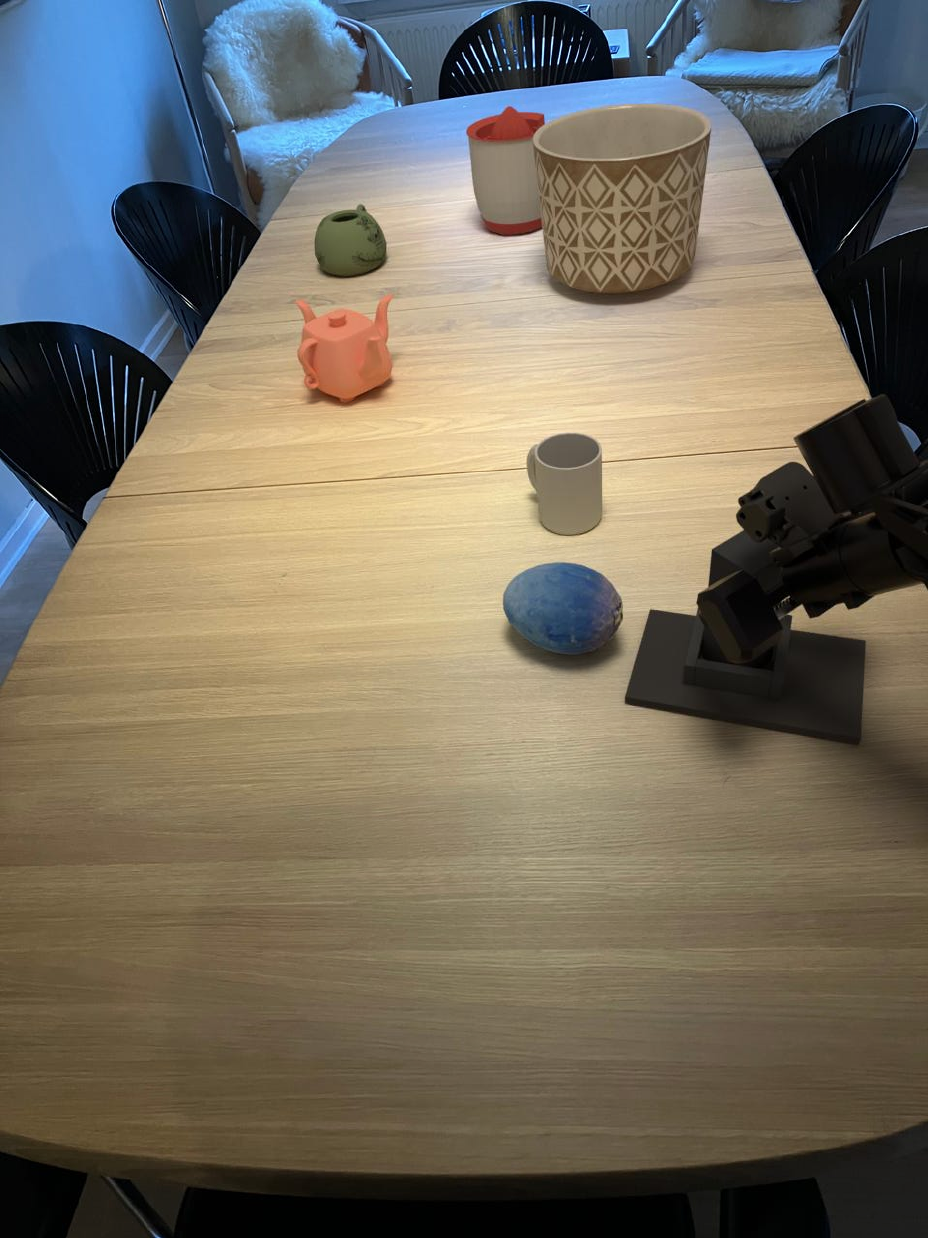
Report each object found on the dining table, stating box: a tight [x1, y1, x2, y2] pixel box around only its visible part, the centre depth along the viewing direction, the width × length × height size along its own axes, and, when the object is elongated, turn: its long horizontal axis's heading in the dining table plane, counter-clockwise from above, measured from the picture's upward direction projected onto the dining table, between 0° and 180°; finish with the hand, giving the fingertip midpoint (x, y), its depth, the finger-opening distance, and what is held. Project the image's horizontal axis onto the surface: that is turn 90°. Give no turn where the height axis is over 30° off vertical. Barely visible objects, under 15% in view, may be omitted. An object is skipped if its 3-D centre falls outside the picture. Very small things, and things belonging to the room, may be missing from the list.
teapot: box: [295, 293, 394, 403], centre depth 130 cm, size 14×14×11 cm
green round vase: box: [314, 203, 388, 277], centre depth 164 cm, size 16×13×9 cm
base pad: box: [624, 606, 867, 746], centre depth 84 cm, size 20×12×4 cm, turn 71°
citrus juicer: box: [465, 105, 546, 236], centre depth 165 cm, size 16×17×20 cm
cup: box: [525, 432, 603, 536], centre depth 103 cm, size 7×10×9 cm
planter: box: [533, 103, 712, 296], centre depth 144 cm, size 26×26×22 cm
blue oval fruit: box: [502, 561, 624, 655], centre depth 88 cm, size 9×9×15 cm
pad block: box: [702, 529, 782, 669], centre depth 81 cm, size 4×4×13 cm
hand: (739, 594), depth 81 cm, fingers open, 9 cm apart
